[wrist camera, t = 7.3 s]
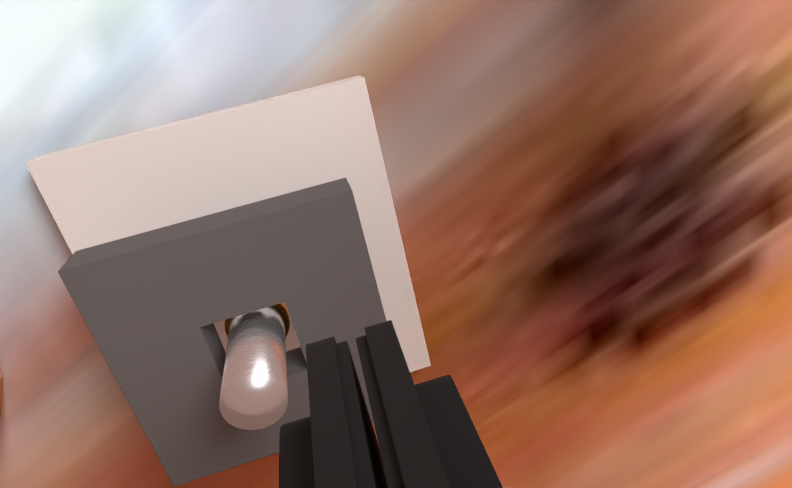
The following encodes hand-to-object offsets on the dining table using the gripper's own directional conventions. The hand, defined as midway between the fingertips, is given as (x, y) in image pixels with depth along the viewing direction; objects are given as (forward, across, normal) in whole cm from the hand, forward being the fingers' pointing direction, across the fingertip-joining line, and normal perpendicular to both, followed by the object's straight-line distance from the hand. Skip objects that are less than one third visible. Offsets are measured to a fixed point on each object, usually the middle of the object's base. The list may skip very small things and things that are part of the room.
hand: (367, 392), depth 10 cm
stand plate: (+27, +6, +9) cm, 29 cm away
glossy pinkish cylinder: (+25, +6, +9) cm, 27 cm away
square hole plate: (+19, +6, +9) cm, 21 cm away
